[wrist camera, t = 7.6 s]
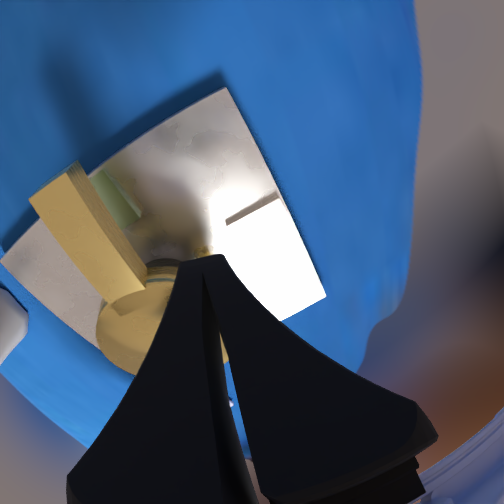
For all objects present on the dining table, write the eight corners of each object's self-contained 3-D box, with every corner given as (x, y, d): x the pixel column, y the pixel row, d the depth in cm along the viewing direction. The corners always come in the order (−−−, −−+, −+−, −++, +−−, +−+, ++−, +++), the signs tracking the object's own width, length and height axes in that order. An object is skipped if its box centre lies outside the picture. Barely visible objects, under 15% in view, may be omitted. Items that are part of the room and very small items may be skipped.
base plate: (321, 288, 25) (342, 323, 22) (147, 372, 26) (148, 408, 23) (223, 86, 14) (238, 90, 11) (4, 253, 15) (-18, 290, 12)
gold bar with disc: (244, 304, 22) (260, 354, 18) (148, 341, 22) (149, 391, 18) (147, 113, 12) (134, 131, 9) (26, 190, 13) (-11, 231, 9)
